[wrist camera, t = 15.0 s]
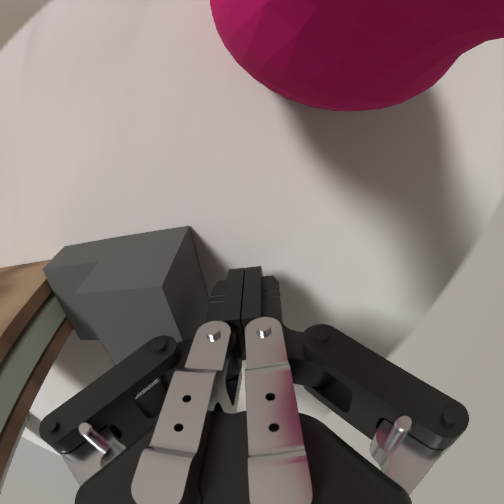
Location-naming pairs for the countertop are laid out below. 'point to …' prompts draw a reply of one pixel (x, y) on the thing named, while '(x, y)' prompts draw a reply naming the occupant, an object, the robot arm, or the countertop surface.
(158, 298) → the block
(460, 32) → the pepper mill
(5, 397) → the sliding door
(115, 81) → the countertop surface
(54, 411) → the robot arm
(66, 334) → the brown upright flat box
